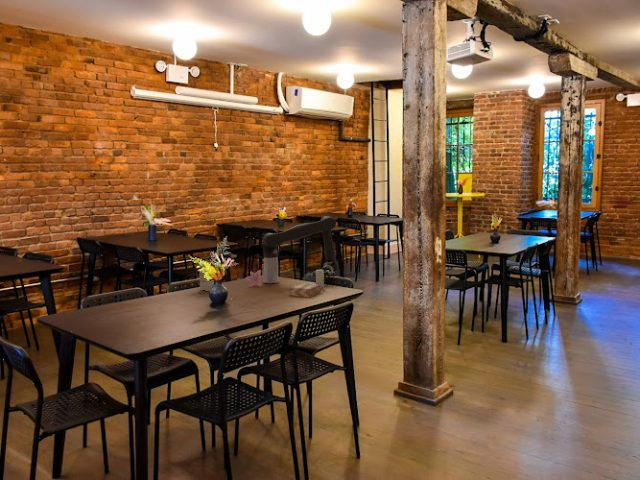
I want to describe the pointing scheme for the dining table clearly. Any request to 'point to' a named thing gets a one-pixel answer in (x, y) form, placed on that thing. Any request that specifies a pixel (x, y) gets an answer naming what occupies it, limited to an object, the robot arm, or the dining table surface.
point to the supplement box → (205, 283)
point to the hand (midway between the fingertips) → (322, 275)
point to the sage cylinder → (320, 278)
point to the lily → (255, 278)
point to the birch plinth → (304, 290)
